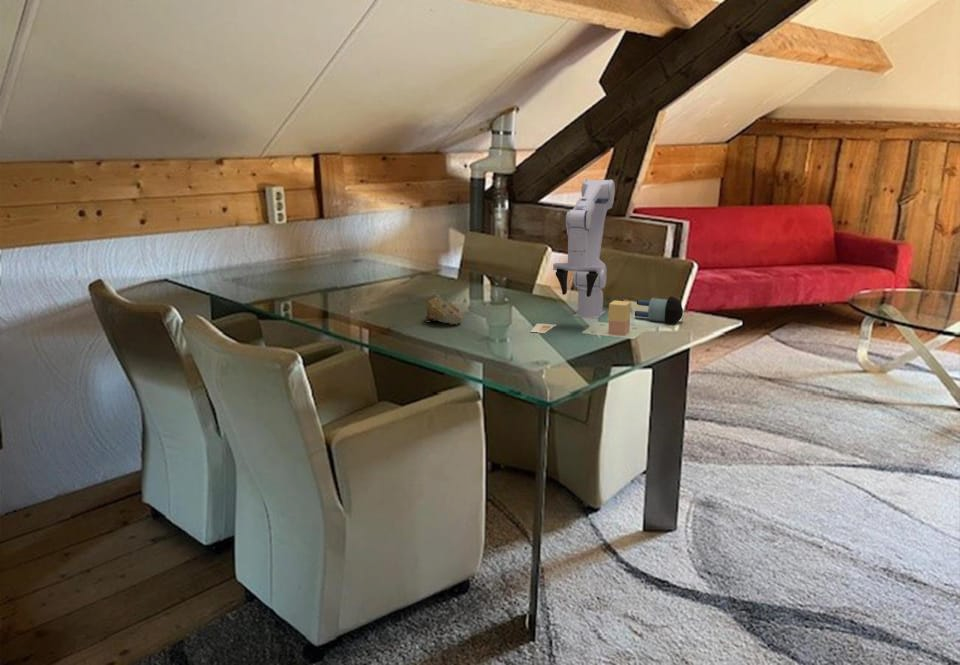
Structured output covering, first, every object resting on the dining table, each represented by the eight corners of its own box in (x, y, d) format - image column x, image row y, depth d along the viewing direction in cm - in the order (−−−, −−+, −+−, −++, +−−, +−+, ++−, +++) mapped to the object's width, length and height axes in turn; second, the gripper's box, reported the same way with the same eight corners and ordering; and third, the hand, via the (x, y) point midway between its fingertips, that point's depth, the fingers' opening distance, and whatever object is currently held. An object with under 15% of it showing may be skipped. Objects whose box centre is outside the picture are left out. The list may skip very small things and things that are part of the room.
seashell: (445, 334, 226) (447, 302, 222) (415, 321, 235) (416, 290, 232) (471, 328, 233) (473, 297, 230) (441, 315, 243) (442, 286, 239)
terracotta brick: (613, 329, 222) (613, 316, 221) (629, 331, 220) (630, 318, 218) (608, 333, 217) (608, 320, 216) (624, 335, 215) (625, 322, 214)
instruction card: (537, 324, 230) (537, 323, 230) (559, 325, 228) (559, 324, 228) (530, 332, 221) (530, 331, 221) (553, 334, 219) (553, 333, 219)
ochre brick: (613, 316, 220) (613, 300, 219) (629, 318, 218) (630, 301, 217) (608, 320, 216) (609, 304, 215) (625, 322, 214) (625, 305, 213)
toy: (635, 324, 236) (682, 329, 229) (628, 314, 229) (676, 319, 222) (640, 300, 239) (687, 305, 232) (634, 289, 232) (682, 293, 224)
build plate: (595, 323, 231) (596, 321, 230) (646, 328, 224) (646, 326, 224) (581, 334, 219) (581, 332, 218) (634, 340, 212) (634, 338, 212)
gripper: (549, 251, 218) (549, 295, 222) (597, 253, 212) (596, 299, 216) (557, 247, 224) (557, 291, 228) (604, 250, 218) (602, 294, 222)
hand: (576, 295), depth 222 cm, fingers open, 7 cm apart
